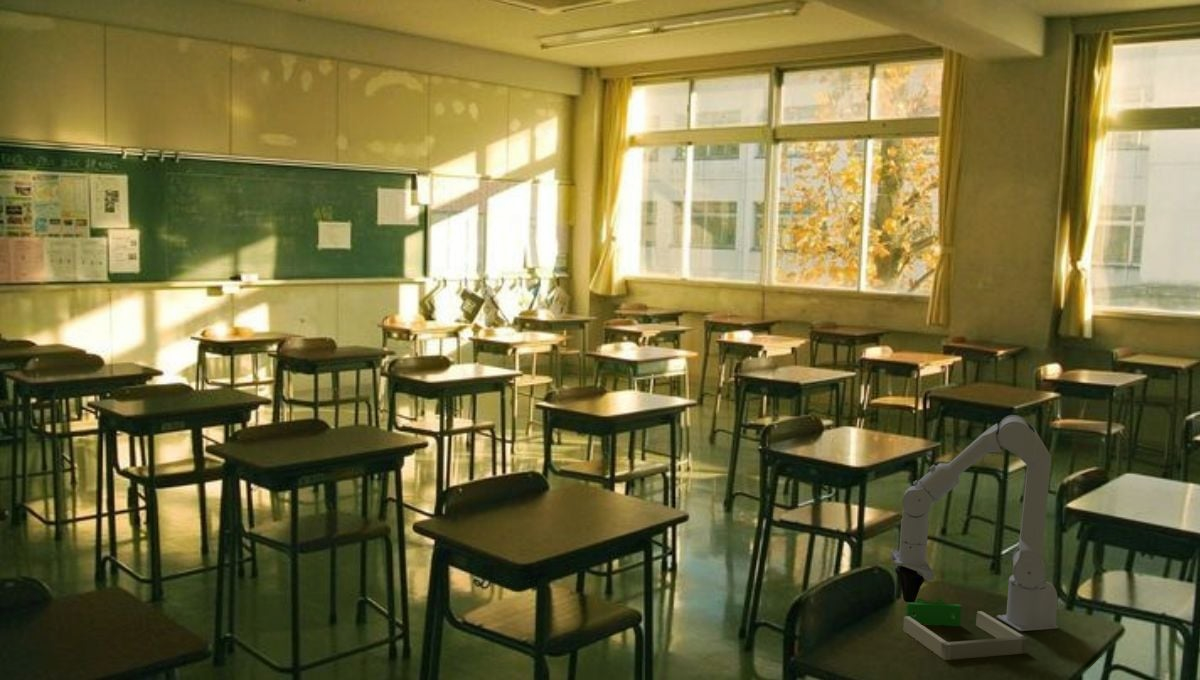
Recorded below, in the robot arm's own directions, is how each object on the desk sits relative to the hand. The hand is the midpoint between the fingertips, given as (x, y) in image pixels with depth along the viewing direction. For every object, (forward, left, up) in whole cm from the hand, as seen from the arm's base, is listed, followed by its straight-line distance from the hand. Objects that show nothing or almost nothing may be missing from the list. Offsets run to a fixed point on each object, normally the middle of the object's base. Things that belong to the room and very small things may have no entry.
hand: (909, 601), depth 224 cm
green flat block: (+1, +9, -1) cm, 10 cm away
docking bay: (0, +20, -1) cm, 20 cm away
